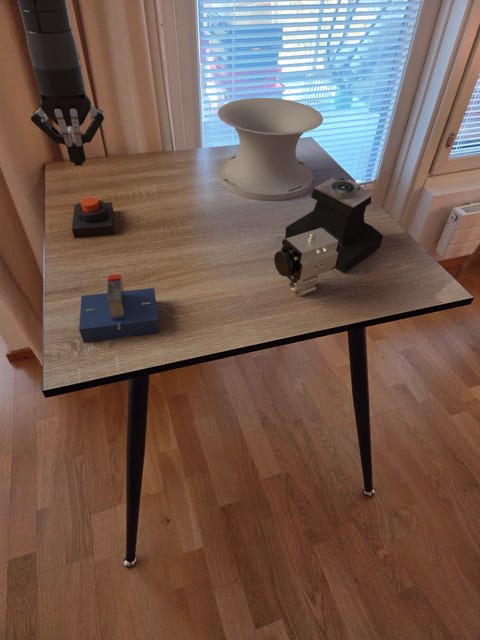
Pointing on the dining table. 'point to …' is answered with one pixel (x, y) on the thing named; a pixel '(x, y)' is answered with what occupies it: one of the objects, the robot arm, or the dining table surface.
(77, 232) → the button housing
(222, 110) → the vase
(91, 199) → the release button
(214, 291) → the dining table surface
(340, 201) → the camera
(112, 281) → the toggle switch lever
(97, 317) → the toggle switch base
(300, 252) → the pneumatic valve
